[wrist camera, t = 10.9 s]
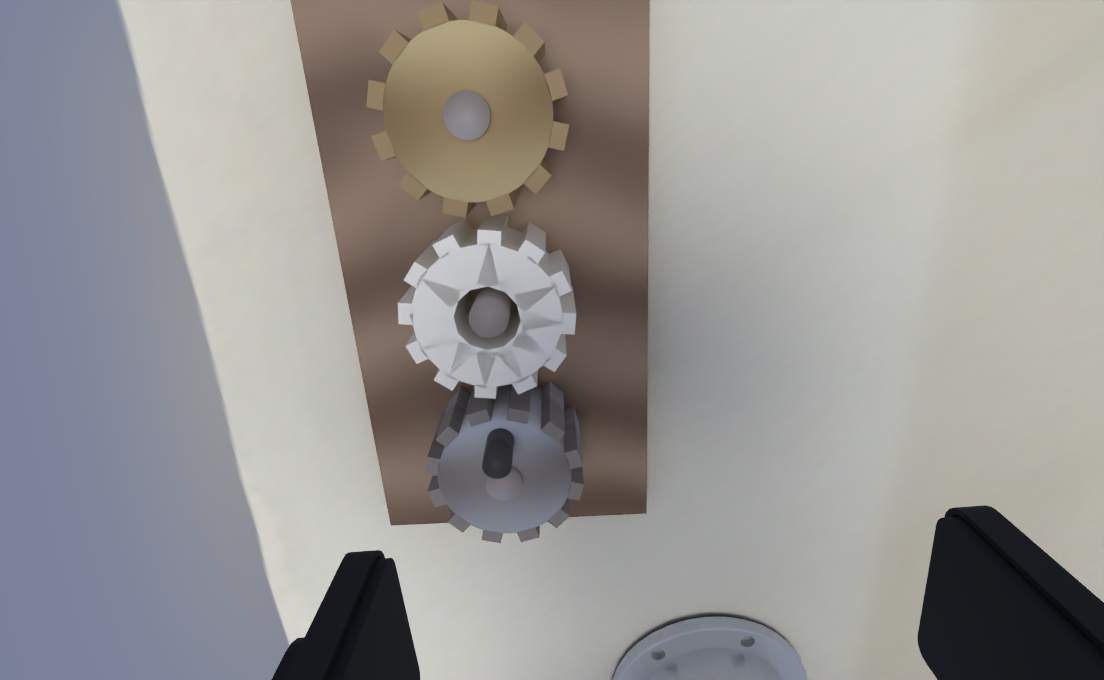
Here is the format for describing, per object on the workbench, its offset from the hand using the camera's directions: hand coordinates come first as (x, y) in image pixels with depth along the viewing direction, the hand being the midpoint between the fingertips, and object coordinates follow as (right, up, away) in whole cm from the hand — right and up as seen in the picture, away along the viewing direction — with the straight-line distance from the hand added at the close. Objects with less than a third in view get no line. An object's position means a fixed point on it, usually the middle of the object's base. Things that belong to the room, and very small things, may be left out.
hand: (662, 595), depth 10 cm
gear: (-5, +7, +17) cm, 19 cm away
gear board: (-5, +7, +18) cm, 20 cm away
